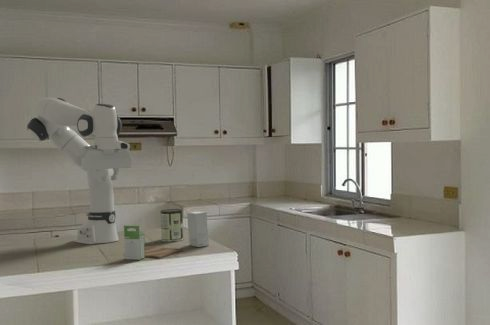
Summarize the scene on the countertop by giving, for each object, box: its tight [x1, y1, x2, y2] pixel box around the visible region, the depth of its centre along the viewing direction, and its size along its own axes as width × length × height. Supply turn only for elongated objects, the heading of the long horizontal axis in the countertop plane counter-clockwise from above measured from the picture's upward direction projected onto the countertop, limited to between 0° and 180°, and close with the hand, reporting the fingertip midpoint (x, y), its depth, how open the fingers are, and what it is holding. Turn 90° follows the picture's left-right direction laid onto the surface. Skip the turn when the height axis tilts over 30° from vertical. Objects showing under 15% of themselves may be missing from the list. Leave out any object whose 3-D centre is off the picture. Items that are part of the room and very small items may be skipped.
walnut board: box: [124, 246, 184, 259], centre depth 219 cm, size 18×16×1 cm
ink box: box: [123, 225, 146, 261], centre depth 208 cm, size 7×4×13 cm, turn 71°
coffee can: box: [159, 208, 184, 243], centre depth 250 cm, size 10×10×14 cm
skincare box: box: [187, 210, 210, 248], centre depth 233 cm, size 8×6×15 cm
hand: (107, 180), depth 207 cm, fingers open, 4 cm apart
